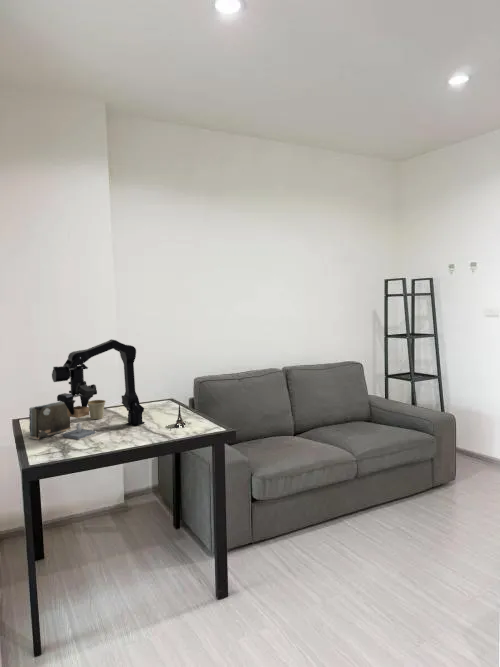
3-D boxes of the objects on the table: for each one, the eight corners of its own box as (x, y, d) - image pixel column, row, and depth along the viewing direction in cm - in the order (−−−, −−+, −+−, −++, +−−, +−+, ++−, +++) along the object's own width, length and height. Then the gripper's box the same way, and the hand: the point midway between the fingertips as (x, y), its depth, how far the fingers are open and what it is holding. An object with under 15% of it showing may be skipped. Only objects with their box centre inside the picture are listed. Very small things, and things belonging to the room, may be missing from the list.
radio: (66, 425, 235) (65, 396, 234) (78, 428, 231) (77, 397, 230) (24, 438, 215) (23, 406, 213) (37, 441, 211) (36, 408, 209)
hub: (95, 433, 221) (94, 422, 221) (78, 439, 213) (78, 428, 212) (79, 430, 226) (79, 420, 226) (62, 436, 217) (62, 425, 217)
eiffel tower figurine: (186, 422, 242) (186, 396, 241) (198, 426, 235) (197, 399, 234) (160, 427, 232) (160, 400, 231) (172, 432, 225) (171, 404, 224)
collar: (78, 413, 223) (78, 405, 223) (89, 414, 220) (88, 407, 220) (67, 416, 217) (67, 408, 217) (78, 418, 214) (77, 410, 214)
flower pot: (102, 420, 244) (102, 403, 244) (84, 420, 245) (83, 403, 244) (108, 415, 254) (108, 399, 253) (91, 415, 254) (90, 399, 253)
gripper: (73, 384, 205) (75, 419, 207) (105, 377, 222) (106, 410, 223) (55, 382, 210) (57, 417, 212) (87, 375, 227) (88, 407, 228)
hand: (78, 412), depth 219 cm, fingers closed on collar, 7 cm apart
